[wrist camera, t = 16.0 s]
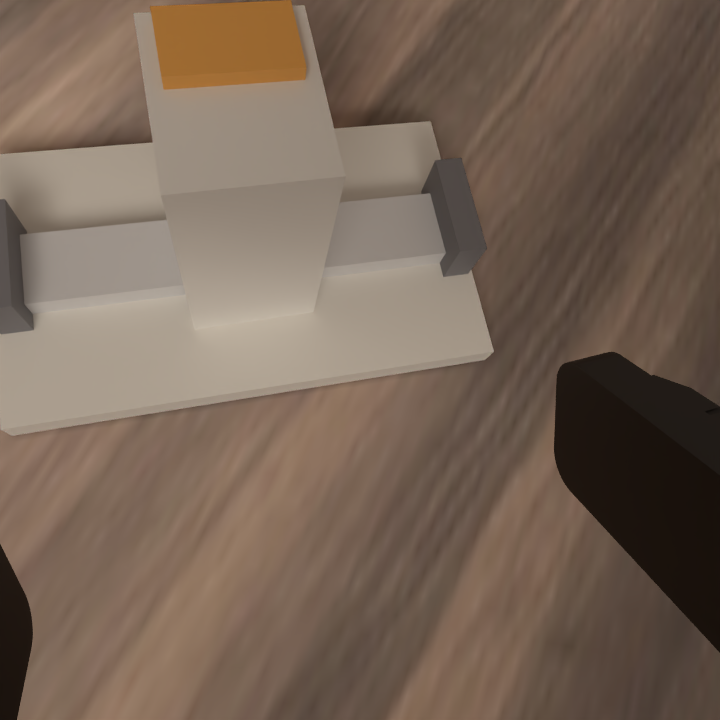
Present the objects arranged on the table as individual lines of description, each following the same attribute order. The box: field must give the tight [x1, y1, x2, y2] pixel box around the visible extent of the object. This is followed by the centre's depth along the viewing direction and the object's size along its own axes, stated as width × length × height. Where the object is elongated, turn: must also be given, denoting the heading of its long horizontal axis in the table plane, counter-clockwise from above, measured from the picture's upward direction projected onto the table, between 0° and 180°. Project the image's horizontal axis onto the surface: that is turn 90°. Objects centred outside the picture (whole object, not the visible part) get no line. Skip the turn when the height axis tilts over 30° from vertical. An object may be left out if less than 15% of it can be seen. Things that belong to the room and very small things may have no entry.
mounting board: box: [0, 121, 494, 436], centre depth 27 cm, size 20×12×4 cm, turn 101°
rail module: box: [133, 0, 346, 330], centre depth 23 cm, size 5×6×11 cm
